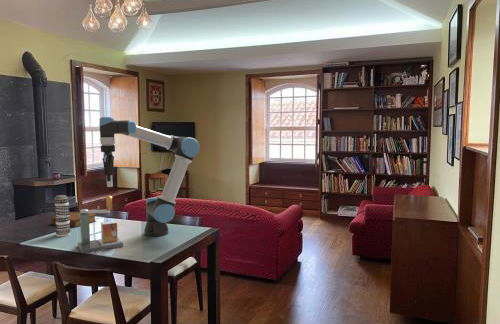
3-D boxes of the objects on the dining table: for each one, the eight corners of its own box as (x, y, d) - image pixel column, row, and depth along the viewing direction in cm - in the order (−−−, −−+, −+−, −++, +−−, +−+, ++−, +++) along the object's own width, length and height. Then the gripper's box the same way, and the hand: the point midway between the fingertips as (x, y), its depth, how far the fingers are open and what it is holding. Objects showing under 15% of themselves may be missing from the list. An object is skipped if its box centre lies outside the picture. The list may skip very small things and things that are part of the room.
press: (116, 240, 235) (115, 209, 233) (123, 246, 222) (121, 213, 221) (77, 246, 224) (75, 213, 222) (81, 253, 211) (79, 218, 209)
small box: (103, 242, 220) (102, 224, 219) (101, 240, 225) (100, 222, 224) (117, 240, 224) (117, 222, 223) (115, 238, 229) (115, 220, 228)
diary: (51, 225, 274) (51, 217, 274) (73, 219, 291) (73, 211, 291) (75, 228, 265) (74, 219, 264) (96, 222, 282) (96, 214, 281)
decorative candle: (53, 237, 243) (50, 197, 240) (58, 232, 252) (56, 194, 249) (68, 236, 244) (66, 196, 242) (73, 232, 253) (71, 194, 251)
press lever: (79, 214, 219) (78, 197, 218) (81, 212, 223) (80, 196, 222) (111, 213, 221) (110, 196, 220) (113, 211, 225) (112, 195, 224)
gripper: (104, 144, 224) (107, 184, 227) (96, 145, 211) (99, 188, 214) (118, 144, 225) (120, 184, 227) (110, 145, 212) (113, 188, 214)
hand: (109, 186), depth 220 cm, fingers closed
